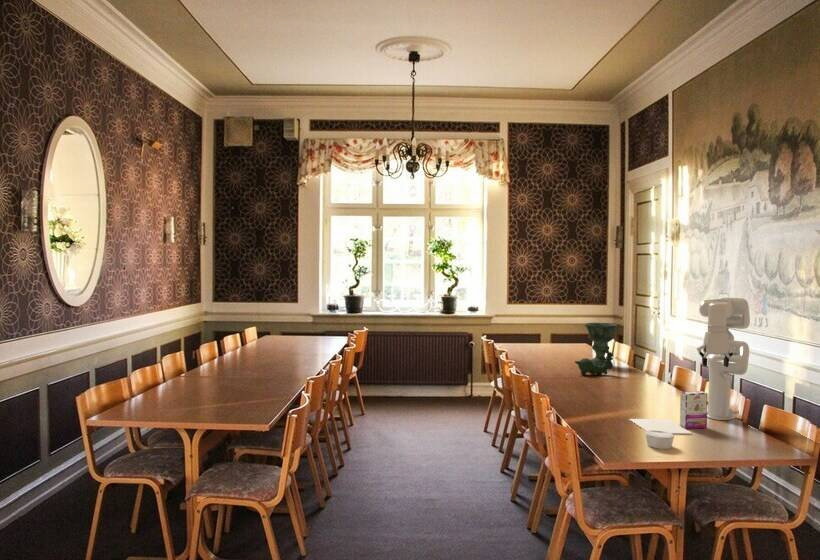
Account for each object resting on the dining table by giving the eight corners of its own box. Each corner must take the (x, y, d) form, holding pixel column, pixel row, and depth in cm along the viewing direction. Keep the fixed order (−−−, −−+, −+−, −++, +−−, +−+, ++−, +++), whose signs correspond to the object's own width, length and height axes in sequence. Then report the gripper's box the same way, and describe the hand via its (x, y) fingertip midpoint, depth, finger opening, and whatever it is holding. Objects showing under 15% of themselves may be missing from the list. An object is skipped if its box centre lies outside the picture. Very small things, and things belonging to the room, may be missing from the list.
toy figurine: (607, 376, 428) (570, 372, 426) (610, 348, 427) (574, 344, 425) (612, 379, 419) (575, 375, 416) (616, 350, 418) (578, 346, 416)
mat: (667, 420, 308) (667, 419, 308) (691, 434, 284) (691, 433, 284) (628, 420, 307) (628, 418, 307) (650, 434, 283) (650, 433, 283)
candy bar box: (700, 425, 300) (701, 390, 300) (707, 428, 295) (708, 393, 295) (678, 426, 298) (680, 391, 297) (685, 429, 293) (686, 393, 292)
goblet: (623, 367, 454) (624, 325, 453) (600, 369, 443) (601, 326, 442) (599, 362, 473) (600, 322, 472) (577, 364, 462) (578, 323, 461)
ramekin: (666, 442, 272) (667, 430, 272) (678, 450, 261) (678, 437, 261) (640, 442, 272) (641, 429, 271) (651, 450, 261) (651, 437, 260)
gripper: (731, 329, 300) (730, 365, 301) (694, 328, 300) (693, 364, 301) (739, 331, 292) (738, 368, 293) (701, 330, 293) (699, 367, 293)
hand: (715, 366), depth 297 cm, fingers open, 9 cm apart
